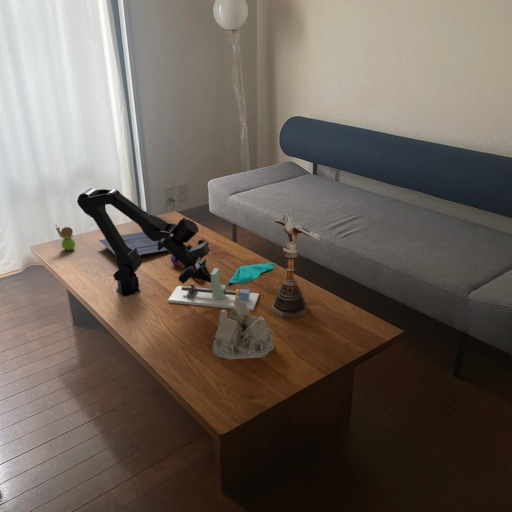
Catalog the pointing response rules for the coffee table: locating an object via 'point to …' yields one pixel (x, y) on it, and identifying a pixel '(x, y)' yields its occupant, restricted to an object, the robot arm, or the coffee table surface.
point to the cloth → (250, 272)
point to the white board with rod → (205, 297)
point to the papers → (137, 243)
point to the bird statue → (291, 274)
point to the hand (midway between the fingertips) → (212, 281)
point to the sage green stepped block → (217, 285)
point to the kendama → (180, 265)
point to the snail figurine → (66, 237)
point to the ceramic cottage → (242, 334)
